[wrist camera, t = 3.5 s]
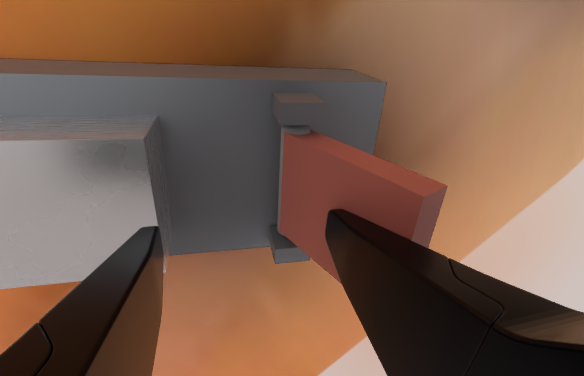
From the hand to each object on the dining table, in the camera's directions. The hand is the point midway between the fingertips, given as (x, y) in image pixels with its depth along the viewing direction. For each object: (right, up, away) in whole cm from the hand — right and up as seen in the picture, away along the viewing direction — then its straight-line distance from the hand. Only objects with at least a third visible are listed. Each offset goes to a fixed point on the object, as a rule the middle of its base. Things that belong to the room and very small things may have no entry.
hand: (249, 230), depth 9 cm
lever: (+1, +1, +3) cm, 3 cm away
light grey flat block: (-6, +1, +2) cm, 7 cm away
